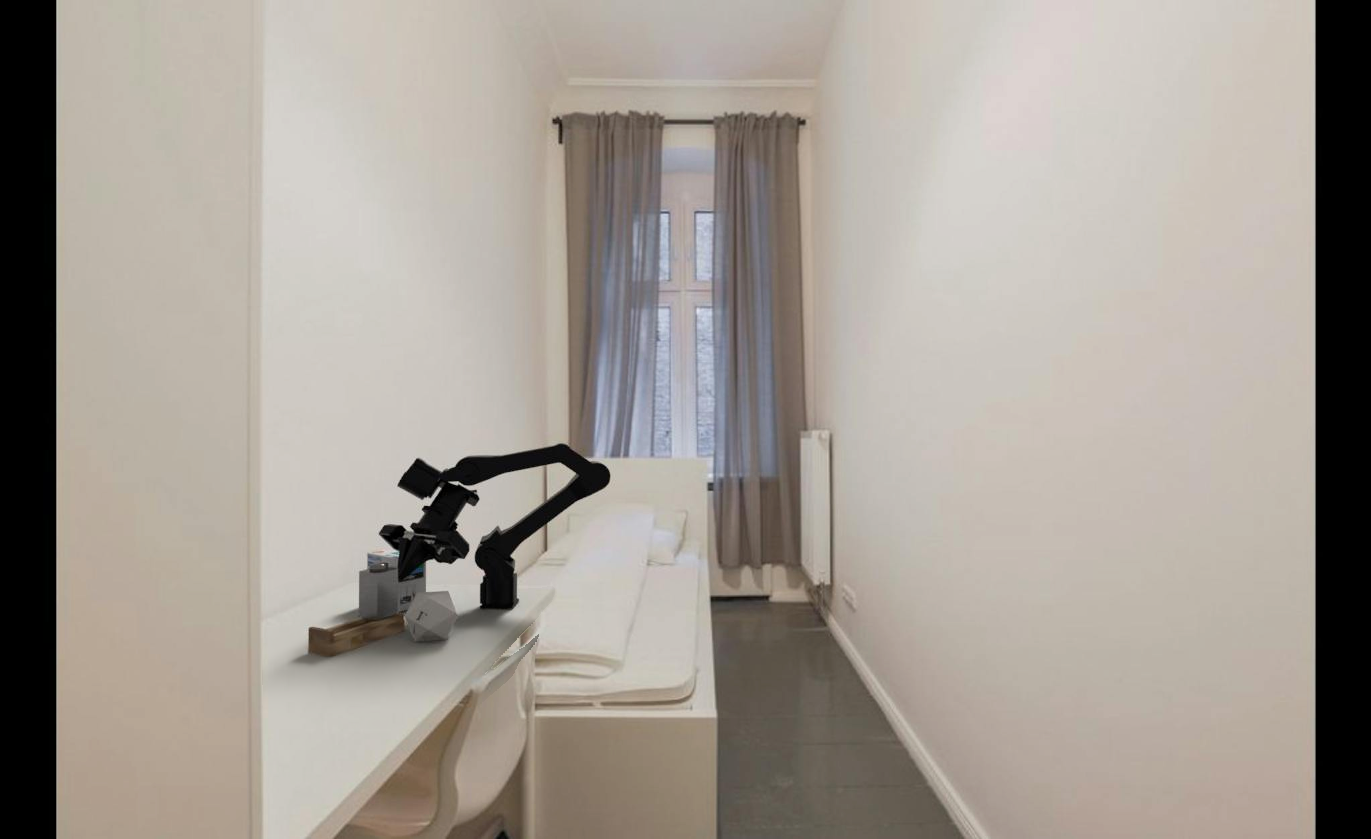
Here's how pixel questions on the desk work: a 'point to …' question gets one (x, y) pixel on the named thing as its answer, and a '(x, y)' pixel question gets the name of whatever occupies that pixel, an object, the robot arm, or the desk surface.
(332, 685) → the desk surface
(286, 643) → the desk surface
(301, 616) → the desk surface
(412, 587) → the light bulb box
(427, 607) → the die
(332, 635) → the beam
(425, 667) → the desk surface
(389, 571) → the square grey bottle
